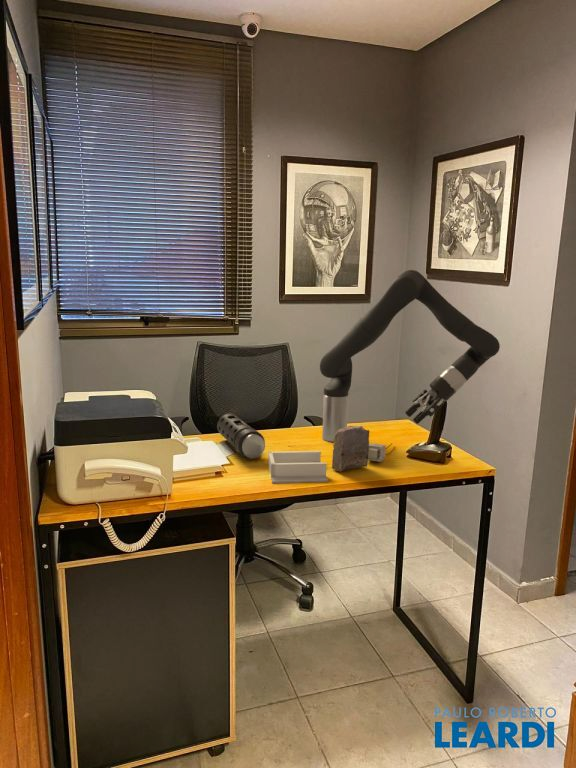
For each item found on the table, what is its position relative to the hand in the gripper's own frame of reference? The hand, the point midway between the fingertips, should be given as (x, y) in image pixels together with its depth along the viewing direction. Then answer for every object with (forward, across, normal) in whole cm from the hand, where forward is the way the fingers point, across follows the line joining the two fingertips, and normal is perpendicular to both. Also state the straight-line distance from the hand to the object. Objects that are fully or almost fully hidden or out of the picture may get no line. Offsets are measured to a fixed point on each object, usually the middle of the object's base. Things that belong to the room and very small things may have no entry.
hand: (410, 418), depth 184 cm
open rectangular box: (+38, +2, -14) cm, 41 cm away
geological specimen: (+26, 0, -1) cm, 26 cm away
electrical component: (+16, -15, +9) cm, 24 cm away
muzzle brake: (+51, -22, -26) cm, 61 cm away
